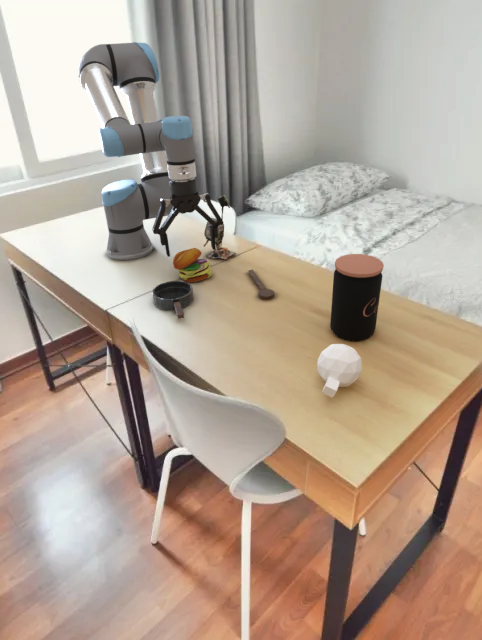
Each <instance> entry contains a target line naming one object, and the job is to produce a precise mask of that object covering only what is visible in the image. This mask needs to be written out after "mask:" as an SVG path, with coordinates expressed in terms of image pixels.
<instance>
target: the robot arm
mask: <svg viewBox="0 0 482 640" xmlns="http://www.w3.org/2000/svg"><path fill="white" fill-rule="evenodd" d="M77 71H78V73H77V74H78V80H79V82H80V85H81V87H82V88H83V91H85V92H86V93H87V94H88V97H89V99H90V101H91V103H92V105H93V107H94V110H95V114H96V116H97V118H98V121H99V123H100V125H101V127H100V128H99V130H98V139H99V144H100V148H101V151H102V154H103V155H104V157H106V158H117V157H118V158H121V157H126V156H133V155H139V158H140V162H141V166H142V171H143V173H142V174H141V177H140V183H138V182H137V181H136V180H135V179H129V178H128V179H120V180H117V181H113V182H112V183H109V184H107V185H106V186H104V187H103V188H102V191H101V201H102V202H101V203H102V206H103V209H104V214H105V215H104V216H105V220H106V225H107V230H108V237H107V245H106V252H107V256H108V258H110V259H112V260H116V261H133V260H138V259H141V258H144V257H147V256H148V255H150V254H151V253H152V252H153V249H154V248H153V242H152V241H151V239H150V237H149V235H148V233H147V230H146V229H145V226H144V225H145V224H144V221H146V220H151V219H155V220H154V223H153V226H152V230H151V231H152V232H153V235H159V240H160V245H161V246H164V247H165V248H164V249H165V254H166V256H167V258H170V257H171V253H170V245H169V238H168V234H167V231H168V229H169V228H170V227H171V225H172V223H173V222H174V220H175V219H176V217H178V215H179V214H182V215H183V214H186V213H189V214H190V213H193V212H195V211H196V212H197V214H199V215H200V216H201V217H203V219H205V221H207V222H209V223H210V224H211V225H212V226H210V237H211V241H210V247H211V249H212V251H214V250H217V248H216V244H215V238H218V226H219V225H222V224H224V221H223V220H222V219H221V218H222V216H220V214H219V213H218V211H217V209H216V207H215V206H214V204H213V203H212V199H211V196H210V193H208V192H204V193H203V194H199V186H198V179H197V178H196V177H197V167H196V157H195V146H194V136H193V135H194V130H193V125H192V121H191V118H190V117H189V116H187V115H169V116H165V117H164V118H162V119H159V114H158V110H157V105H156V100H155V97H154V92H155V90H156V89H157V83H158V82H159V81H160V71H159V65H158V59H157V57H156V54H155V53H154V49H153V48H152V47H151V46H150V45H149V44H148V43H146V42H136V41H132V42H122V43H121V42H120V43H100V44H96V45H94V46H92V47H91V48H89V49H88V50H86V52H85V53H84V54H83V55H82V57H81V59H80V60H79V64H78V69H77ZM115 87H119V91H120V93H121V95H123V96H124V97H126V100H127V104H128V108H129V109H128V110H129V113H130V116H131V122H132V124H131V122H130V119H129V118H128V116H127V113H126V112H125V109H124V107H123V105H122V103H121V100H120V99H119V96H118V94H117V91H116V89H115ZM201 200H202V202H203V203H205V204H206V205H207V206H208V208H209V210H210V211H211V213H212V214H213V216H214V218H215V219H217V220H216V221H214V220H213V219H212V218H213V217H211V216H210V215H209V214H208V213H207V212H206V211H204V210H203V209H202V208H201V207H200V206H199V204H200V202H201ZM164 217H166V219H165V220H164V222H163V223H162V220H163V218H164Z"/></svg>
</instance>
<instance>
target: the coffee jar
mask: <svg viewBox="0 0 482 640" xmlns="http://www.w3.org/2000/svg"><path fill="white" fill-rule="evenodd" d="M384 266H385V265H384V263H383V261H382V260H381V259H379V258H377V257H375V256H373V255H369V254H364V253H350V254H344V255H341V256H339V257H337V258H336V259H335V261H334V268H335V270H334V272H333V280H332V294H331V295H332V296H331V309H330V321H329V322H330V323H329V325H330V326H329V327H330V330H331V331H332V334H334V336H335V337H337V338H338V339H340V340H343V341H346V342H350V343H352V342H354V343H358V342H364V341H366V340H368V339H370V338H371V337H372V336H373V335H374V333H375V332H376V327H377V320H378V313H379V306H380V305H379V304H380V297H381V290H382V282H383V273H382V272H383V270H384Z"/></svg>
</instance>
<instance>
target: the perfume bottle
mask: <svg viewBox="0 0 482 640" xmlns="http://www.w3.org/2000/svg"><path fill="white" fill-rule="evenodd" d="M317 358H318V359H317V361H316V363H317V374H318V375H319V376H320V377H321V378H322V380H323V382H325V384H324V386H323V388H322V391H321V393H322V394H323V395H326V396H327V397H330V398H334V396H335V395H336V393H337V391H338V389H339V388H347V387H349V386H351V385H353V383H355V382H356V381H357V380H358V378H359V376H360V374H361V373H362V371H363V366H362V357H361V355H360V354H358V352H357V351H356V349H355V348H354V347H351V346H349V345H347V344H345V343H331V344H330V345H328V346H327V347H325V349H323V350H322V351H321V352H320V354H319V356H318V357H317Z"/></svg>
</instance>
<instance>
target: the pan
mask: <svg viewBox="0 0 482 640" xmlns="http://www.w3.org/2000/svg"><path fill="white" fill-rule="evenodd" d="M151 293H152V300H153V304H154V305H155V307H156V308H158V309H160V310H162V311H163V310H164V311H175V308H174V304H173V302H178V301H179V302H180V305H181V308H182V309H185V308H187V307H188V306H190V305H191V304H192V303H193V302H194V299H195V296H194V295H195V294H194V287H193V285H192V284H191V283H190V282H186V281H184V280H171V281H166V282H162V283H160V284H158V285H156V286H155V287H153V289H152V292H151Z"/></svg>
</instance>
